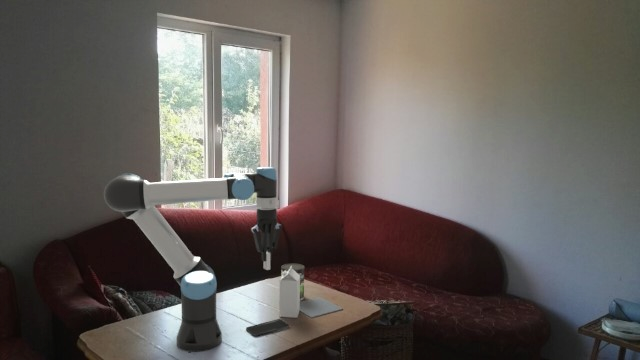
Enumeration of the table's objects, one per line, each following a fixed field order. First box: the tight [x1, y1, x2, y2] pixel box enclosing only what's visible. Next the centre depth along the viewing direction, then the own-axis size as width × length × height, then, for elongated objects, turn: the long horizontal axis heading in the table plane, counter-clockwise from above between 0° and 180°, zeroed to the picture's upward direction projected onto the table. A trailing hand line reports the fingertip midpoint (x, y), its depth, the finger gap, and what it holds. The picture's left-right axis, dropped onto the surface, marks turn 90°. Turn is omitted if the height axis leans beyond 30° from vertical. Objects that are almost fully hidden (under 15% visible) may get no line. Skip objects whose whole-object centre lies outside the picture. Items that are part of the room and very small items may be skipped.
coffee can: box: [280, 262, 306, 302], centre depth 207 cm, size 10×10×14 cm
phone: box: [245, 318, 290, 338], centre depth 176 cm, size 8×1×15 cm
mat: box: [299, 296, 344, 319], centre depth 197 cm, size 16×16×1 cm
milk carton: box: [279, 266, 301, 319], centre depth 188 cm, size 7×7×19 cm
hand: (266, 268), depth 181 cm, fingers closed
